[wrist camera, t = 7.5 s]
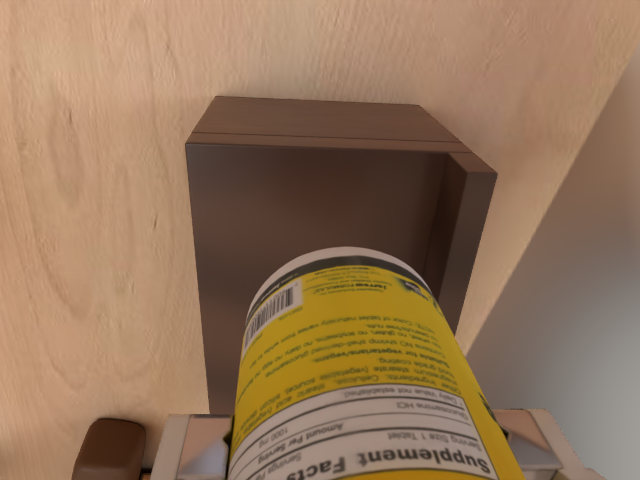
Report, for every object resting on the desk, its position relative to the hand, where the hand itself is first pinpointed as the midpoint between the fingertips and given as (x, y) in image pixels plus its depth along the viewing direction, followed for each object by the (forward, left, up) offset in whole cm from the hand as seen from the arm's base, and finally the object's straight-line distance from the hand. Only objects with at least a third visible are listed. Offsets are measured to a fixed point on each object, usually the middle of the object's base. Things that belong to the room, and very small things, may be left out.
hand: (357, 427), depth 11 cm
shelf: (+10, 0, -19) cm, 22 cm away
